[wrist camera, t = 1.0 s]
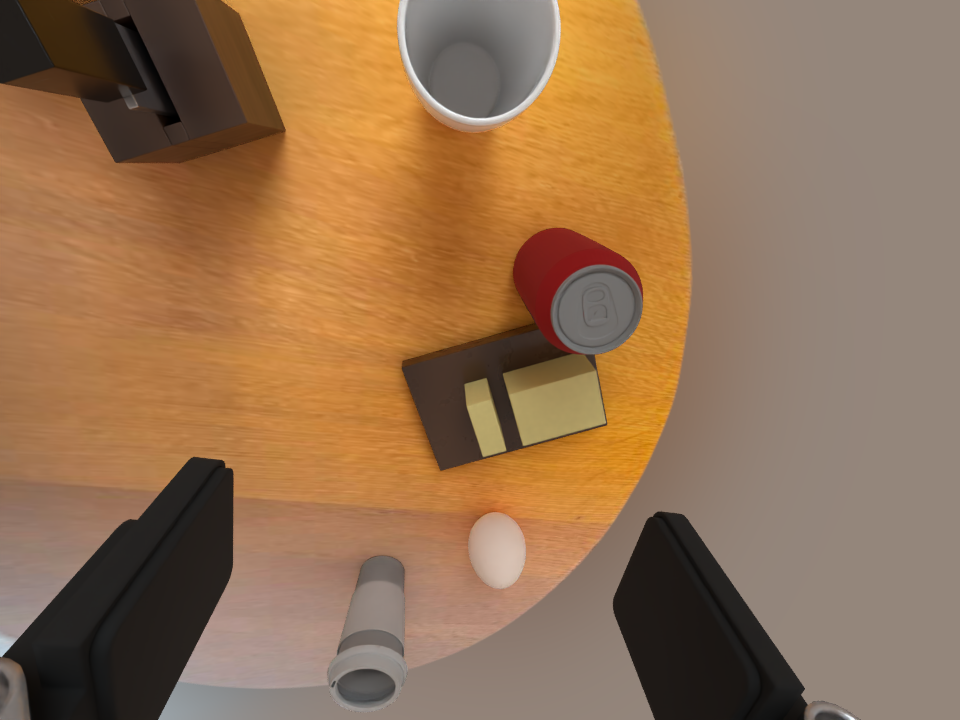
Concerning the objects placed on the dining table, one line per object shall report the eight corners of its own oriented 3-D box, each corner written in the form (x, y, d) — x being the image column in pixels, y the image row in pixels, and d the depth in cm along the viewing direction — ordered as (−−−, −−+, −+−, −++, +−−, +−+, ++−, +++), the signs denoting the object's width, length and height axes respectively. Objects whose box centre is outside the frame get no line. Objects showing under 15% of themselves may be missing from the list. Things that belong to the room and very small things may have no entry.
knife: (208, 53, 30) (-11, -50, 16) (237, 119, 32) (62, 81, 17) (177, 63, 30) (-71, -31, 16) (207, 128, 32) (8, 99, 17)
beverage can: (518, 315, 39) (548, 375, 28) (504, 235, 36) (531, 267, 25) (596, 299, 39) (657, 352, 28) (588, 217, 36) (652, 241, 25)
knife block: (239, 13, 30) (183, -29, 23) (286, 130, 32) (247, 122, 26) (123, 50, 30) (35, 19, 23) (179, 163, 33) (114, 163, 26)
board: (582, 309, 39) (587, 315, 38) (602, 417, 44) (607, 425, 42) (402, 360, 40) (401, 367, 38) (440, 461, 44) (440, 471, 43)
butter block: (581, 350, 39) (596, 370, 35) (591, 400, 41) (606, 423, 37) (502, 373, 39) (508, 394, 36) (515, 421, 41) (523, 446, 38)
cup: (361, 540, 47) (336, 654, 36) (423, 554, 49) (417, 669, 38) (342, 588, 50) (314, 709, 39) (402, 601, 51) (391, 721, 40)
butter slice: (486, 377, 39) (491, 399, 36) (500, 425, 41) (506, 451, 38) (464, 383, 39) (466, 406, 36) (479, 431, 41) (483, 457, 38)
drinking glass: (474, 162, 34) (497, 162, 20) (395, 100, 32) (361, 53, 18) (531, 77, 32) (598, 13, 18) (451, 6, 30) (459, -126, 17)
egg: (529, 522, 48) (545, 586, 41) (486, 548, 49) (493, 615, 42) (500, 488, 46) (510, 549, 39) (455, 516, 47) (458, 580, 40)
